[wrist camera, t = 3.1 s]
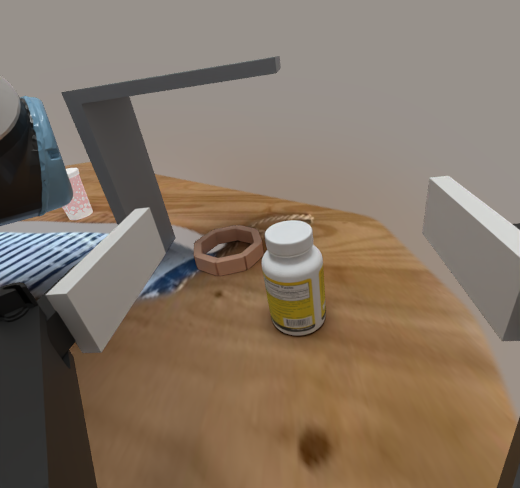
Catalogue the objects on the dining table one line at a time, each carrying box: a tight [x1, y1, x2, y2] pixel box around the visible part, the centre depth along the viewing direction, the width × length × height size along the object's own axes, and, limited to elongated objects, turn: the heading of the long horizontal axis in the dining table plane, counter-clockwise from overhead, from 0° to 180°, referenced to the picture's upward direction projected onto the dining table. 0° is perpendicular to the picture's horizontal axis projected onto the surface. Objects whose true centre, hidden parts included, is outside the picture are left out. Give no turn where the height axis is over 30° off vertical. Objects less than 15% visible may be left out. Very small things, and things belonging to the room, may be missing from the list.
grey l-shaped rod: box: [62, 56, 280, 252], centre depth 38 cm, size 10×20×22 cm, turn 84°
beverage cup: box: [62, 168, 93, 220], centre depth 60 cm, size 6×6×14 cm
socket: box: [194, 225, 264, 276], centre depth 42 cm, size 9×9×2 cm
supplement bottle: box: [262, 220, 326, 335], centre depth 28 cm, size 5×5×10 cm
